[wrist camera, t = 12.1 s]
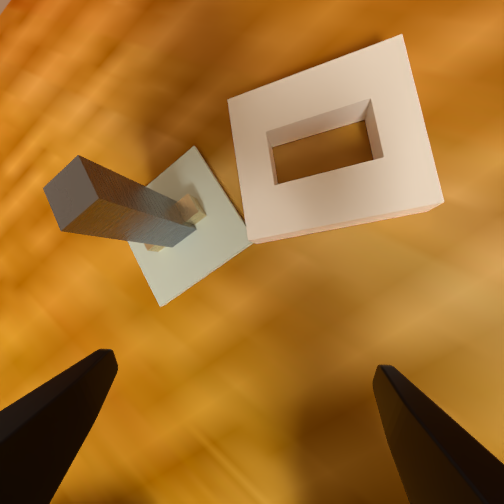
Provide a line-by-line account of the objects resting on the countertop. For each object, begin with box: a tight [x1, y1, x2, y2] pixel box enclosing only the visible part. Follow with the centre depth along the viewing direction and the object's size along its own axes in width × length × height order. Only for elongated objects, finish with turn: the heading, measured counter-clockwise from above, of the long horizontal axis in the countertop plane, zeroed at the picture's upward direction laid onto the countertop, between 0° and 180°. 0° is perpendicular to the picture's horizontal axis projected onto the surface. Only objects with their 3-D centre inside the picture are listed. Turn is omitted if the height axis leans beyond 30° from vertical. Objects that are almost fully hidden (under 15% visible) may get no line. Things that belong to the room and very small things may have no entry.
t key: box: [43, 155, 207, 252], centre depth 18 cm, size 3×6×10 cm, turn 122°
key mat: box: [128, 146, 253, 306], centre depth 23 cm, size 11×11×1 cm
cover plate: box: [227, 34, 444, 244], centre depth 19 cm, size 12×13×2 cm
